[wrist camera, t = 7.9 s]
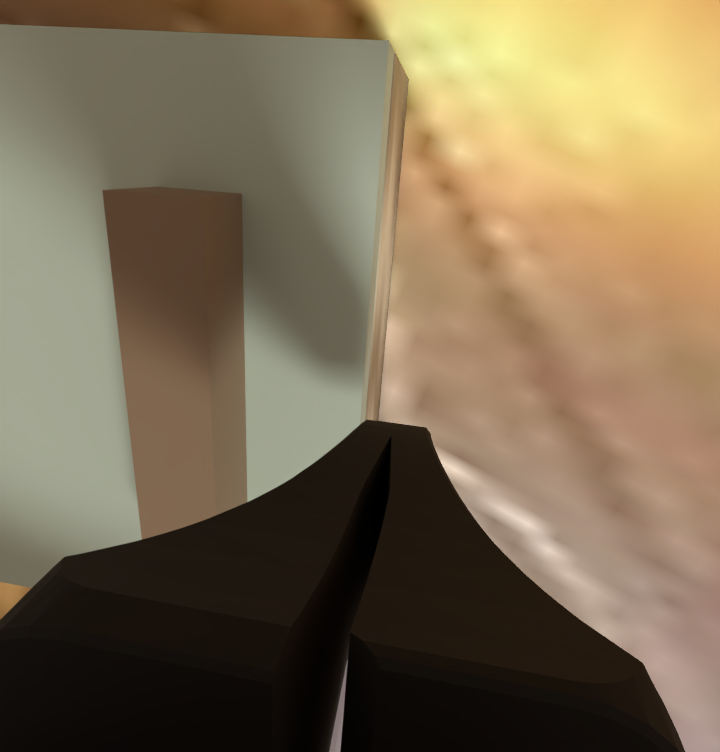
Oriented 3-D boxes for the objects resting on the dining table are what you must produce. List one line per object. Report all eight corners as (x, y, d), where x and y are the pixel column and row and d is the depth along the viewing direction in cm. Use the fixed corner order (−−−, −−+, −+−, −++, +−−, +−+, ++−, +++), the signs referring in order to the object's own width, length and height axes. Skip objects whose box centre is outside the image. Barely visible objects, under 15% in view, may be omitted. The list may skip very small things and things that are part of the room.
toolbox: (366, 545, 20) (350, 615, 17) (42, 490, 22) (-28, 545, 19) (408, 79, 14) (395, 53, 11) (-43, 56, 16) (-165, 28, 13)
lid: (348, 622, 17) (329, 709, 14) (-35, 550, 19) (-118, 616, 16) (394, 50, 11) (374, 11, 8) (-179, 25, 13) (-353, -14, 10)
